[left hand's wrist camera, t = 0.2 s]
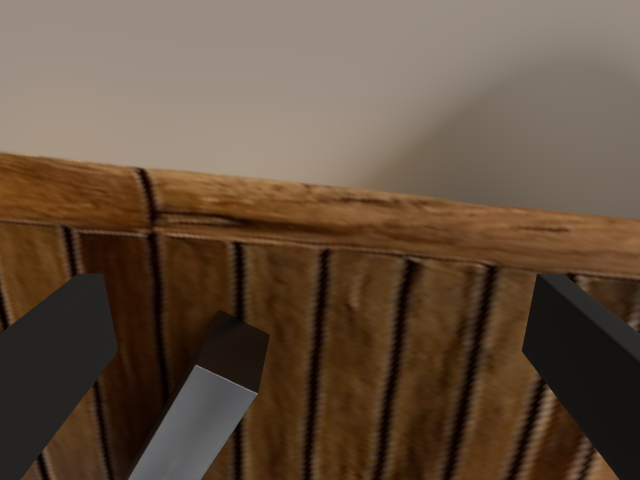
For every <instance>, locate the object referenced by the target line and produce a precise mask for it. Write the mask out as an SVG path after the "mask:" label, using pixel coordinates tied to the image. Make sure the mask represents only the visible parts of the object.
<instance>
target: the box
mask: <svg viewBox="0 0 640 480" xmlns="http://www.w3.org/2000/svg"><path fill="white" fill-rule="evenodd" d="M269 336H270V335H269V334H267V333H265V332H263V331H261V330H259V329H257V328H255V327H253V326H251V325H249V324H247V323H245V322H243V321H241V320H239V319H237V318H235V317H233V316H231V315H229V314H227V313H225V312H223V311H221V310H220V311H219V312H218V314H217V316H216V317H215V319H214V321H213V323H212V324H211V326H210V328H209V329H208V331H207V333H206V335H205V336H204V338H203V340H202V341H201V343H200V345H199V347H198V348H197V350H196V352H195V354H194V355H193V357H192V359H191V360H190V362H189V364H188V366H187V367H186V369H185V371H184V373H183V374H182V376H181V378H180V379H179V381H178V383H177V385H176V386H175V388H174V390H173V391H172V393H171V395H170V397H169V398H168V400H167V402H166V404H165V405H164V407H163V409H162V410H161V412H160V414H159V416H158V417H157V419H156V421H155V422H154V424H153V426H152V428H151V429H150V431H149V433H148V435H147V436H146V438H145V440H144V441H143V443H142V445H141V447H140V448H139V450H138V452H137V453H136V455H135V457H134V459H133V460H132V462H131V464H130V466H129V468H128V470H127V472H126V474H125V476H124V478H123V480H201V478H202V477H203V475H204V474H205V472H206V471H207V469H208V468H209V466H210V465H211V463H212V462H213V460H214V459H215V457H216V456H217V454H218V453H219V451H220V450H221V448H222V447H223V445H224V444H225V443H226V441H227V440H228V438H229V437H230V435H231V434H232V432H233V431H234V429H235V428H236V426H237V425H238V423H239V422H240V420H241V419H242V417H243V416H244V414H245V413H246V411H247V410H248V408H249V407H250V405H251V404H252V402H253V401H254V399H255V398H256V396H257V395H258V391H259V386H260V381H261V376H262V371H263V366H264V361H265V356H266V351H267V346H268V341H269Z"/></svg>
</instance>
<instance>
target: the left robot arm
mask: <svg viewBox="0 0 640 480" xmlns="http://www.w3.org/2000/svg"><path fill="white" fill-rule="evenodd" d="M117 352H118V347H117V342H116V337H115V332H114V327H113V322H112V317H111V312H110V307H109V302H108V297H107V292H106V287H105V282H104V277H103V274H77V275H76V276H74V277H73V278H72V279H70V280H69V281H68V282H67V283H65V284H64V285H63V286H61V287H60V288H59V289H57V290H56V291H55V292H54V293H52V294H51V295H50V296H48V297H47V298H46V299H45V300H43V301H42V302H41V303H39V304H38V305H37V306H36V307H34V308H33V309H32V310H30V311H29V312H28V313H27V314H25V315H24V316H23V317H21V318H20V319H19V320H18V321H16V322H15V323H14V324H12V325H11V326H10V327H8V328H7V329H6V330H5V331H3V332H2V333H1V334H0V480H20V479H21V478H22V477H23V476H24V474H25V473H26V472H27V470H28V469H29V468H30V466H31V465H32V464H33V462H34V461H35V460H36V458H37V457H38V456H39V454H40V453H41V452H42V451H43V449H44V448H45V447H46V445H47V444H48V443H49V441H50V440H51V439H52V437H53V436H54V435H55V433H56V432H57V431H58V430H59V428H60V427H61V426H62V424H63V423H64V422H65V420H66V419H67V418H68V416H69V415H70V414H71V412H72V411H73V410H74V408H75V407H76V406H77V405H78V403H79V402H80V401H81V399H82V398H83V397H84V395H85V394H86V393H87V391H88V390H89V389H90V387H91V386H92V385H93V384H94V382H95V381H96V380H97V378H98V377H99V376H100V374H101V373H102V372H103V370H104V369H105V368H106V366H107V365H108V364H109V363H110V361H111V360H112V359H113V357H114V356H115V355H116V353H117ZM522 352H523V353H524V355H525V356H526V357H527V359H528V360H529V361H530V363H531V364H532V365H533V366H534V368H535V369H536V370H537V372H538V373H539V374H540V376H541V377H542V378H543V380H544V381H545V382H546V384H547V385H548V386H549V387H550V389H551V390H552V391H553V393H554V394H555V395H556V397H557V398H558V399H559V401H560V402H561V403H562V405H563V406H564V407H565V408H566V410H567V411H568V412H569V414H570V415H571V416H572V418H573V419H574V420H575V422H576V423H577V424H578V426H579V427H580V428H581V430H582V431H583V432H584V433H585V435H586V436H587V437H588V439H589V440H590V441H591V443H592V444H593V445H594V447H595V448H596V449H597V451H598V452H599V453H600V454H601V456H602V457H603V458H604V460H605V461H606V462H607V464H608V465H609V466H610V468H611V469H612V470H613V472H614V473H615V474H616V476H617V477H618V478H619V479H620V480H640V334H639V333H638V332H637V331H635V330H634V329H633V328H632V327H630V326H629V325H628V324H626V323H625V322H624V321H622V320H621V319H620V318H619V317H617V316H616V315H615V314H613V313H612V312H611V311H610V310H608V309H607V308H606V307H604V306H603V305H602V304H601V303H599V302H598V301H597V300H595V299H594V298H593V297H592V296H590V295H589V294H588V293H586V292H585V291H584V290H583V289H581V288H580V287H579V286H577V285H576V284H575V283H573V282H572V281H571V280H570V279H568V278H567V277H566V276H564V275H563V274H537V277H536V282H535V287H534V292H533V297H532V302H531V307H530V312H529V317H528V322H527V327H526V332H525V337H524V342H523V347H522Z"/></svg>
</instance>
